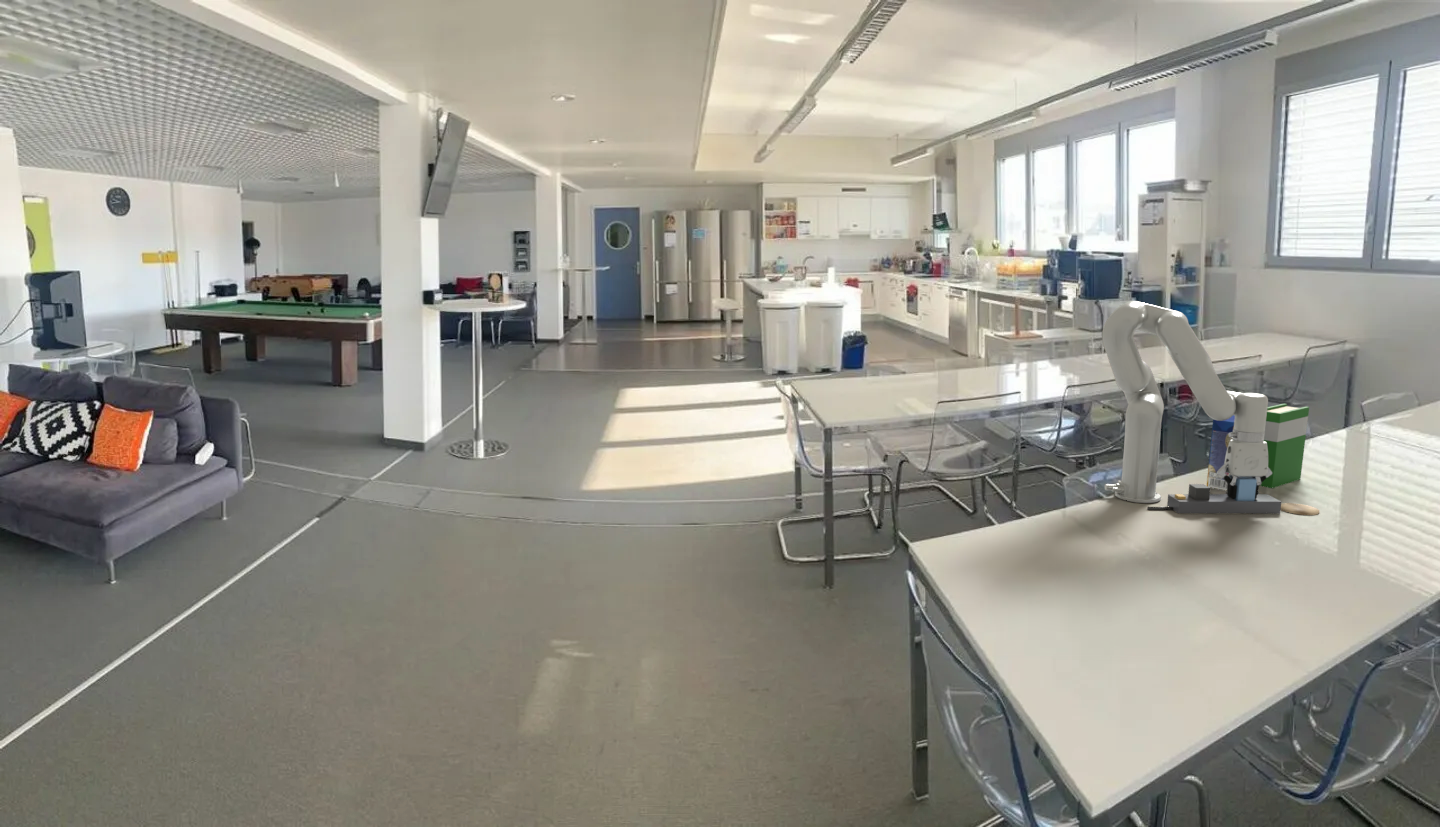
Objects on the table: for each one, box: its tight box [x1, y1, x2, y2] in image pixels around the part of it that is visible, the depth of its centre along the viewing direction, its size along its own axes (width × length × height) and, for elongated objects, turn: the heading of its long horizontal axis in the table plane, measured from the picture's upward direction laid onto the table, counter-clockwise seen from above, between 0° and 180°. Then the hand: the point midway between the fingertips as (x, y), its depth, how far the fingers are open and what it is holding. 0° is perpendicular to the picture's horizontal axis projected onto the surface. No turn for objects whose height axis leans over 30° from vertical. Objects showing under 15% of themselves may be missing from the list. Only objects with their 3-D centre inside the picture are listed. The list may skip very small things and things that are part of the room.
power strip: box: [1146, 483, 1282, 515], centre depth 238 cm, size 35×7×7 cm, turn 86°
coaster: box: [1280, 502, 1321, 516], centre depth 237 cm, size 10×10×1 cm
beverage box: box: [1206, 415, 1235, 491], centre depth 259 cm, size 7×11×22 cm, turn 128°
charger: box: [1234, 477, 1257, 501], centre depth 237 cm, size 5×5×8 cm
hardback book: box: [1259, 403, 1310, 489], centre depth 263 cm, size 18×7×24 cm, turn 120°
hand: (1241, 496), depth 237 cm, fingers open, 5 cm apart
